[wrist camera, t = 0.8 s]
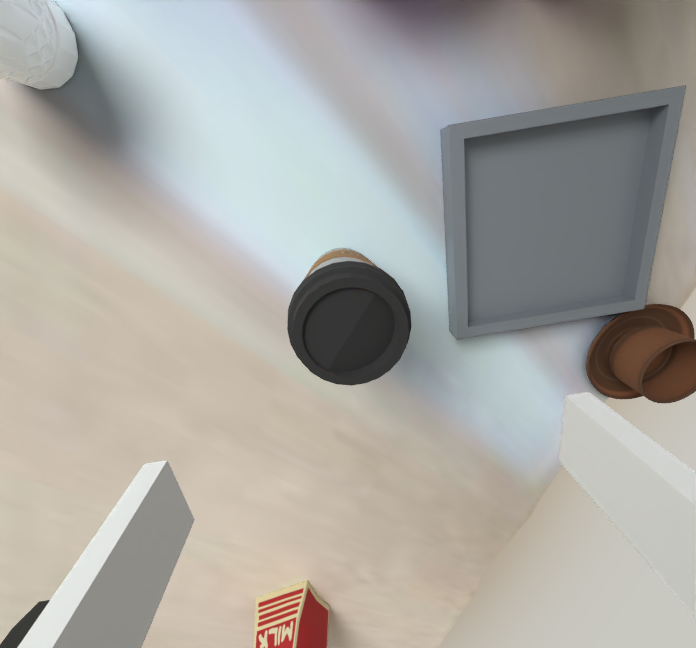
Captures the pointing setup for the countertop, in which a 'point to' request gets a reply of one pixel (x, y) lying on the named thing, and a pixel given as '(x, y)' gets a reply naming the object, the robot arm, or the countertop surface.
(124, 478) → the countertop surface
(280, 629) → the milk carton
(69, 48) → the white cup
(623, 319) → the cup and saucer
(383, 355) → the coffee cup
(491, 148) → the tray
